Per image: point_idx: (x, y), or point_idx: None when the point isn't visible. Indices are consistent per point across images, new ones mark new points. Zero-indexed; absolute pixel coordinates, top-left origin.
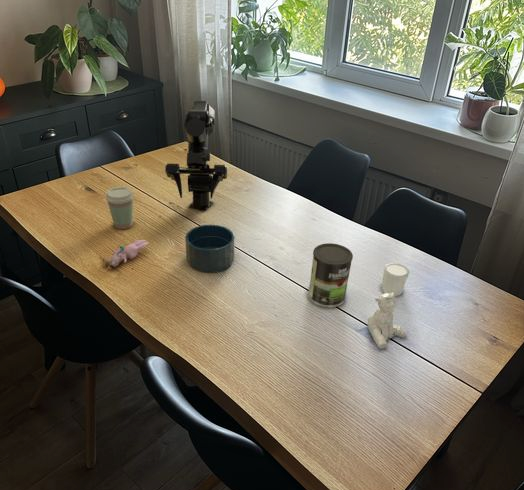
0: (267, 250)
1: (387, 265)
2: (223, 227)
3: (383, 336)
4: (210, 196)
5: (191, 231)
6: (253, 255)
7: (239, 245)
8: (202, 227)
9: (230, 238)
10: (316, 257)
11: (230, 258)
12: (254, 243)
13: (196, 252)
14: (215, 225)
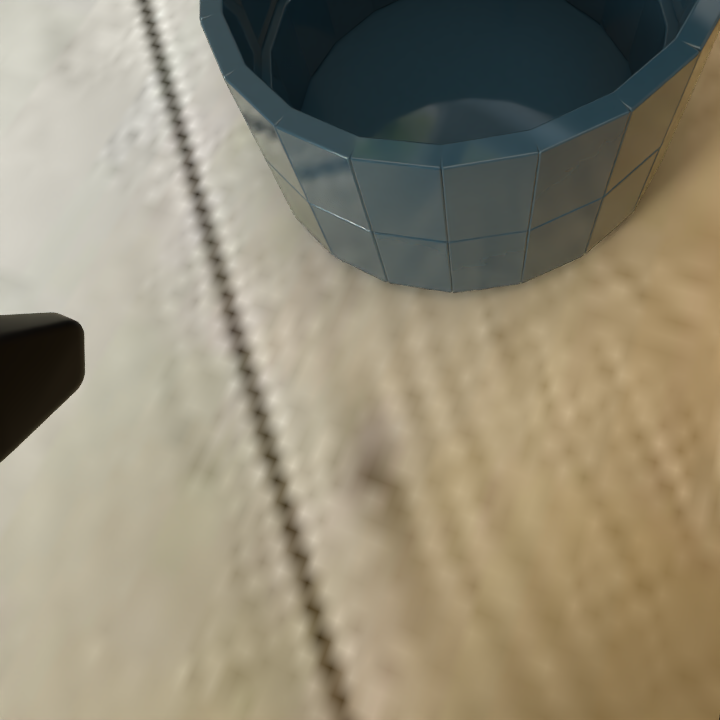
0: (34, 132)
1: None
2: (238, 69)
3: None
4: (60, 326)
5: (629, 80)
6: (149, 102)
7: (169, 244)
8: (459, 150)
9: (245, 19)
10: None
11: None
12: (57, 237)
13: None
14: (301, 124)
